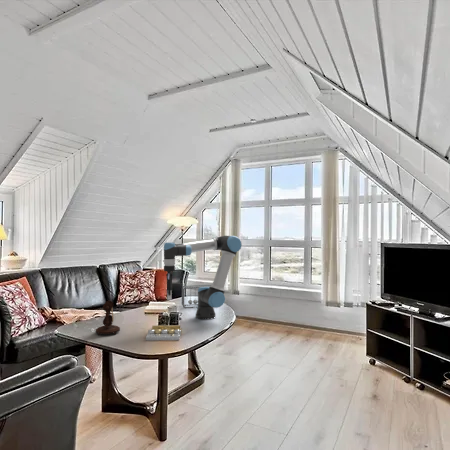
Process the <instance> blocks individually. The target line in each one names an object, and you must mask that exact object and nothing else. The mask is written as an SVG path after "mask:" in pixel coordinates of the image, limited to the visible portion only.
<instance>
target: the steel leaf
mask: <svg viewBox="0 0 450 450" xmlns="http://www.w3.org/2000/svg"><path fill="white" fill-rule="evenodd" d="M147 330H148V331H147V334H146V336H145V341H180V339H181V335H182V332H181V330H175V334H168V330H162V331H161V334H155V330H150V329H147Z"/></svg>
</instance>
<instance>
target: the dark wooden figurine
mask: <svg viewBox="0 0 450 450" xmlns="http://www.w3.org/2000/svg"><path fill="white" fill-rule="evenodd" d="M113 307H114V302H113V301H112V300H106V301H105V302H104V304H103V305H102V309H103V311H104V312H105V315H104V318H103V320H102V324H103V325H101V326H99V327H97V328H96V329H95V333H97V334H98V336H100V335H108V334H110V335H111V334H114V335H117V333H118V332H120V331H121V327H120V326H118V325H115V324H114V325H113V323H114V313H113V312H114V311H113Z"/></svg>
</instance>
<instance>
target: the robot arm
mask: <svg viewBox="0 0 450 450" xmlns="http://www.w3.org/2000/svg"><path fill="white" fill-rule="evenodd" d="M242 246H243V245H242V241H241V238H240V237H238V236H236V235H221V236H217V237H212V238H211V239H207V240H206V239H205V240H197V241H190V242H184V243H177V244H176V243H175V242H164V244H163V260H162V262H163V271H164V272H166V274H165V275H166V289H165V290H166V291H167V293H166V295H167V296H166V299H167V301H172V299H173V298H172V297H173V295H172V294H173V293H172V291H173V290H174V289H173V275H174V274H173V272H175V271H176V257H187V256H191V255H192V253H196V252H204V251H209V250H212V251H220V252H221V256H220V259H219V263H218V265H217V269H216V272H215V276H214V279H213V281H212V284H210V285H211V286H204V287H203V286H200V288H197V301H198V302H197V304H198V305H197V307H198V308H196V312H195V318H196V319H197V318H198V320H212V319H211V318H213V319H215V318H216V312H215V309H217V308H220V307H222V306H223V305H224V304H225V302H226V297H225V292H226V290H225V288H224V287H225V285H226V281H227V279H228V275H229V272H230V268H231V266H232V263H233V262H232V261H233V259H234V257H236V255H237V252H239V251H240V250H241V249H242ZM214 317H215V318H214Z"/></svg>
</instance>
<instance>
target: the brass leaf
mask: <svg viewBox="0 0 450 450" xmlns="http://www.w3.org/2000/svg"><path fill="white" fill-rule="evenodd" d="M149 330H155V334H161V331H162V330H168V334H175V330H181V333H182V332H183V331H182V330H183V329H182V328H181V324H180V325H179V324H178V325H173V324H171V325H170V324H169V325H166V324H165V325H151V328H150V329H149Z"/></svg>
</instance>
